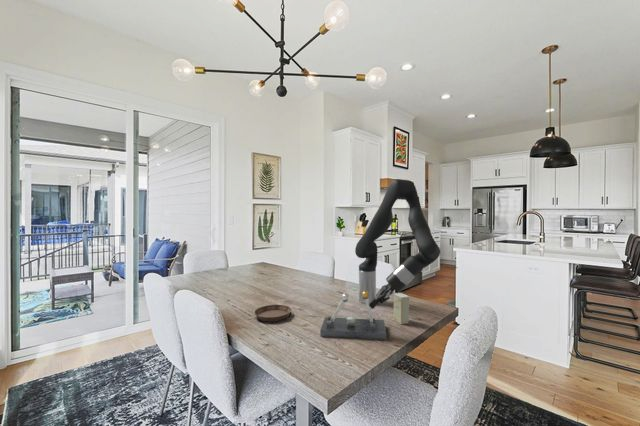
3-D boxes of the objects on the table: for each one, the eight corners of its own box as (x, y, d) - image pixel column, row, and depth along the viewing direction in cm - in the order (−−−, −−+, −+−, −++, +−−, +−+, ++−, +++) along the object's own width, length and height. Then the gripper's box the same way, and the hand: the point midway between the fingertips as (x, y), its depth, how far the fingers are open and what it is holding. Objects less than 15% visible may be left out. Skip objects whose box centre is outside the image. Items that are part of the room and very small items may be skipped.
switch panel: (325, 322, 133) (325, 312, 133) (384, 325, 129) (383, 315, 129) (320, 336, 119) (320, 325, 119) (386, 340, 115) (386, 328, 115)
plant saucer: (252, 312, 147) (252, 306, 147) (286, 308, 153) (286, 302, 153) (257, 326, 131) (257, 319, 131) (295, 320, 137) (295, 314, 137)
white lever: (328, 318, 128) (344, 291, 126) (333, 322, 127) (349, 295, 126) (327, 322, 124) (343, 294, 122) (332, 325, 123) (349, 297, 122)
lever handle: (369, 322, 125) (361, 290, 125) (375, 321, 124) (367, 289, 125) (369, 326, 121) (361, 293, 121) (375, 325, 121) (367, 292, 121)
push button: (347, 321, 126) (346, 316, 126) (355, 321, 126) (355, 317, 126) (346, 324, 123) (346, 320, 123) (355, 324, 122) (355, 320, 122)
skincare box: (393, 319, 136) (392, 293, 136) (401, 318, 137) (401, 292, 137) (401, 324, 130) (401, 297, 130) (409, 323, 132) (409, 296, 131)
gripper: (392, 268, 128) (364, 295, 130) (395, 274, 115) (364, 305, 116) (404, 280, 127) (376, 308, 129) (409, 288, 114) (378, 319, 116)
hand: (370, 306), depth 123 cm, fingers closed
